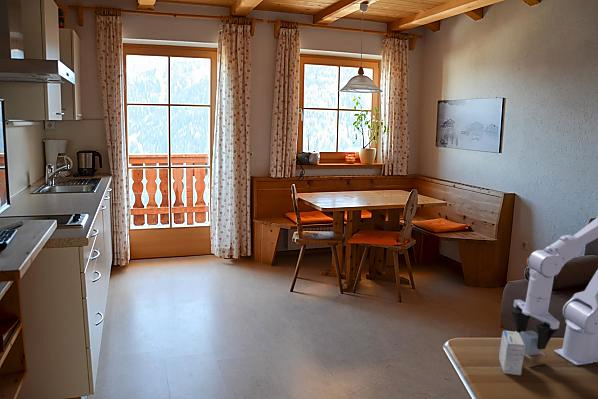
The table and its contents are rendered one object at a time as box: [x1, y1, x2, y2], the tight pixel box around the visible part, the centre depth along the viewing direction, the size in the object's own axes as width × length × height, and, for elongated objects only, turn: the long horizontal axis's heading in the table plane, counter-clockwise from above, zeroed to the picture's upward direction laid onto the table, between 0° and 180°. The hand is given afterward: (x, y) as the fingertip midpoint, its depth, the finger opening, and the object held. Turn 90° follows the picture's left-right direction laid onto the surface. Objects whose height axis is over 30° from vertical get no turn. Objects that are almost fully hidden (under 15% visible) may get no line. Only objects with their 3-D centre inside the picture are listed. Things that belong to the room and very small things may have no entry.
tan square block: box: [522, 351, 547, 368], centre depth 145 cm, size 6×6×3 cm
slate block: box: [520, 330, 542, 356], centre depth 144 cm, size 4×4×5 cm
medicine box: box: [498, 330, 525, 376], centre depth 139 cm, size 8×4×9 cm, turn 168°
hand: (530, 341), depth 144 cm, fingers open, 7 cm apart
